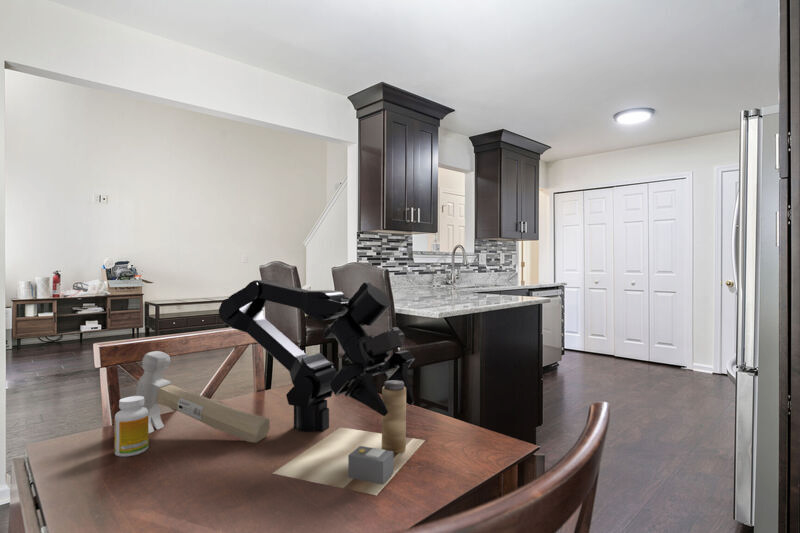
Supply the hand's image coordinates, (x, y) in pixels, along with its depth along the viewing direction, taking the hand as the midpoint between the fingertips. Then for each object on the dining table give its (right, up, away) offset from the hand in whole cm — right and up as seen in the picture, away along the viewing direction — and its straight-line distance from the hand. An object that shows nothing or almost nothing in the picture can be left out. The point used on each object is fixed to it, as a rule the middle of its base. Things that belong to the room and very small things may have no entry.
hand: (399, 408), depth 79 cm
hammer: (-40, -9, +10) cm, 42 cm away
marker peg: (-1, -7, +1) cm, 8 cm away
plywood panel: (-8, -8, -2) cm, 12 cm away
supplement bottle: (-50, -9, +2) cm, 50 cm away
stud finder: (-5, -7, -9) cm, 13 cm away
